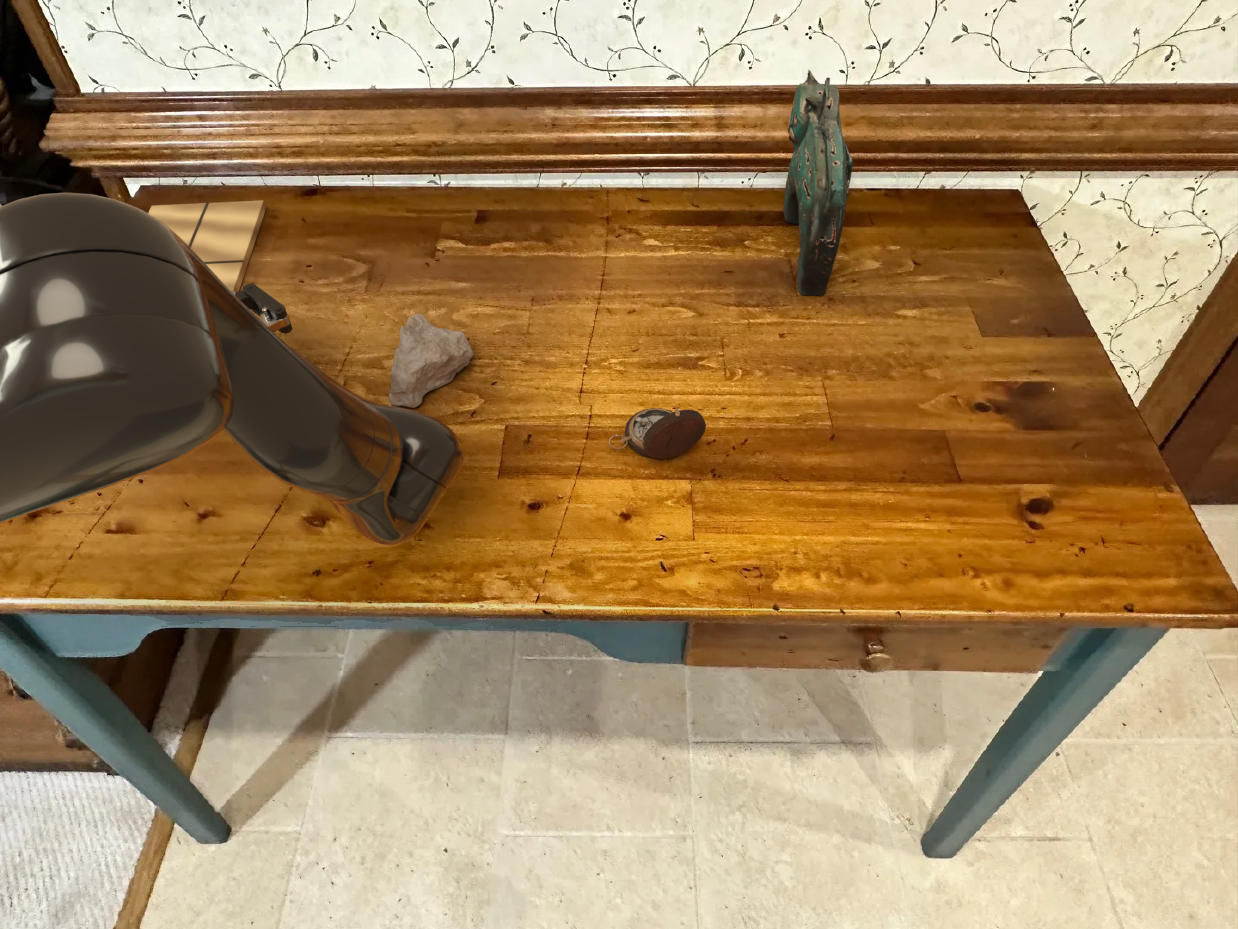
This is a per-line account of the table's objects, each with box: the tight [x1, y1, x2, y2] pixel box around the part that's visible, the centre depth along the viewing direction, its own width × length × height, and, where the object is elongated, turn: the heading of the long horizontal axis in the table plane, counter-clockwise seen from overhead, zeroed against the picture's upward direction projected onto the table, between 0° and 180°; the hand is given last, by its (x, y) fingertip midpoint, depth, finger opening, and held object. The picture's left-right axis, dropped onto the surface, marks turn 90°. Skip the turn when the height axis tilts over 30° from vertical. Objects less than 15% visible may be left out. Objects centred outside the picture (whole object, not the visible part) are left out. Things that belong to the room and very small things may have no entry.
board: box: [147, 200, 267, 292], centre depth 101 cm, size 34×14×1 cm, turn 4°
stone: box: [387, 313, 474, 408], centre depth 90 cm, size 10×8×6 cm
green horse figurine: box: [782, 69, 854, 297], centre depth 99 cm, size 20×6×20 cm, turn 178°
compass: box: [608, 406, 707, 460], centre depth 83 cm, size 8×8×7 cm
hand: (161, 311), depth 82 cm, fingers open, 8 cm apart
